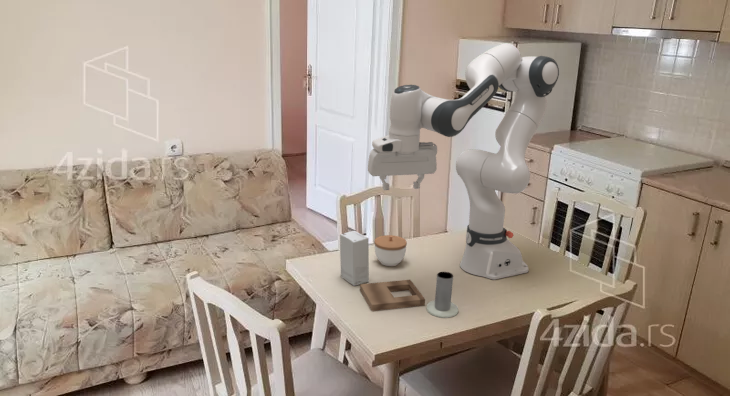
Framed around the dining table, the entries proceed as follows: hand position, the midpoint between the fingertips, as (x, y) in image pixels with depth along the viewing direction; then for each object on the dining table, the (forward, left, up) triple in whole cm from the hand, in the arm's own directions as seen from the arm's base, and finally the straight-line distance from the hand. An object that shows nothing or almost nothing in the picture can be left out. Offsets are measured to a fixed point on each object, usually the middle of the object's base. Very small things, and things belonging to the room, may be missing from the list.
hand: (401, 188), depth 175 cm
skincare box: (+12, -6, -31) cm, 34 cm away
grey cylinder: (-8, +18, -30) cm, 36 cm away
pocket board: (+4, +8, -31) cm, 32 cm away
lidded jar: (-3, -16, -31) cm, 35 cm away
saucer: (-8, +18, -31) cm, 37 cm away
